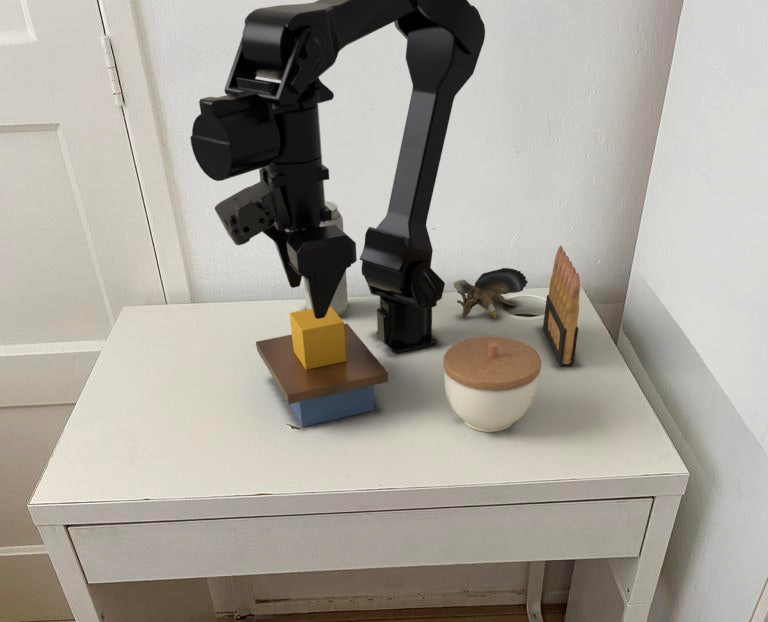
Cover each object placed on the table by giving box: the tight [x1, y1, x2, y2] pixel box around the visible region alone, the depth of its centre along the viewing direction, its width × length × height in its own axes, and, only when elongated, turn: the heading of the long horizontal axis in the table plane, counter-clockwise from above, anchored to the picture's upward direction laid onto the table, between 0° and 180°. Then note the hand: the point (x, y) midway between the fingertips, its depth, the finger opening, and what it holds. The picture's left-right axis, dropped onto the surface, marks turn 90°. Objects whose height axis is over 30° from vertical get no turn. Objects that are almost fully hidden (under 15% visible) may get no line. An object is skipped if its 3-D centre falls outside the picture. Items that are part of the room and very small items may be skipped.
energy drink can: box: [303, 200, 349, 317], centre depth 109 cm, size 6×6×15 cm
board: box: [255, 323, 389, 405], centre depth 93 cm, size 12×14×1 cm
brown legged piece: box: [453, 267, 529, 319], centre depth 111 cm, size 8×7×9 cm
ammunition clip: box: [542, 245, 581, 367], centre depth 100 cm, size 11×2×12 cm, turn 3°
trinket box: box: [442, 336, 542, 433], centre depth 88 cm, size 11×11×9 cm
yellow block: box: [289, 306, 346, 370], centre depth 91 cm, size 5×5×5 cm
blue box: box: [288, 385, 375, 428], centre depth 95 cm, size 9×12×4 cm
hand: (307, 301), depth 89 cm, fingers open, 9 cm apart
